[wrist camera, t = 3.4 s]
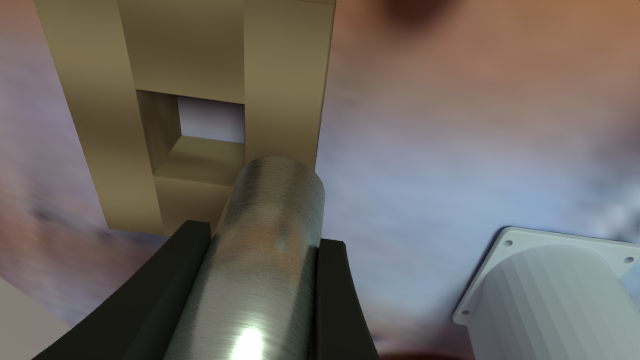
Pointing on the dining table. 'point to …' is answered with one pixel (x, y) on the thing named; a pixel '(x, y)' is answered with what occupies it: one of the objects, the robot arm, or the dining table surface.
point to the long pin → (257, 270)
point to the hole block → (187, 80)
